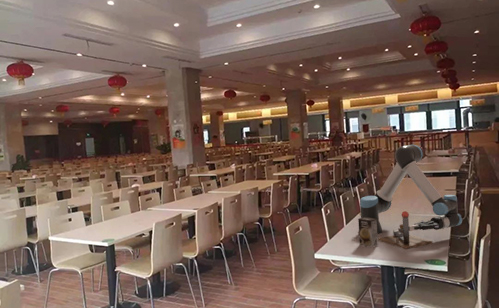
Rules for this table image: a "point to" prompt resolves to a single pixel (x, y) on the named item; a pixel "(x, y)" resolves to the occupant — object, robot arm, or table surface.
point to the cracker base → (397, 242)
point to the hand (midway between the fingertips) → (409, 228)
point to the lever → (405, 235)
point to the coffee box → (368, 232)
